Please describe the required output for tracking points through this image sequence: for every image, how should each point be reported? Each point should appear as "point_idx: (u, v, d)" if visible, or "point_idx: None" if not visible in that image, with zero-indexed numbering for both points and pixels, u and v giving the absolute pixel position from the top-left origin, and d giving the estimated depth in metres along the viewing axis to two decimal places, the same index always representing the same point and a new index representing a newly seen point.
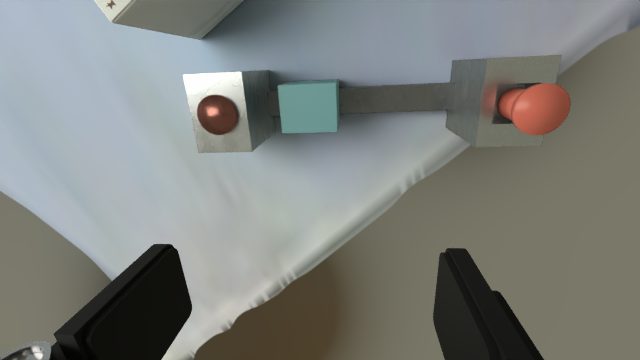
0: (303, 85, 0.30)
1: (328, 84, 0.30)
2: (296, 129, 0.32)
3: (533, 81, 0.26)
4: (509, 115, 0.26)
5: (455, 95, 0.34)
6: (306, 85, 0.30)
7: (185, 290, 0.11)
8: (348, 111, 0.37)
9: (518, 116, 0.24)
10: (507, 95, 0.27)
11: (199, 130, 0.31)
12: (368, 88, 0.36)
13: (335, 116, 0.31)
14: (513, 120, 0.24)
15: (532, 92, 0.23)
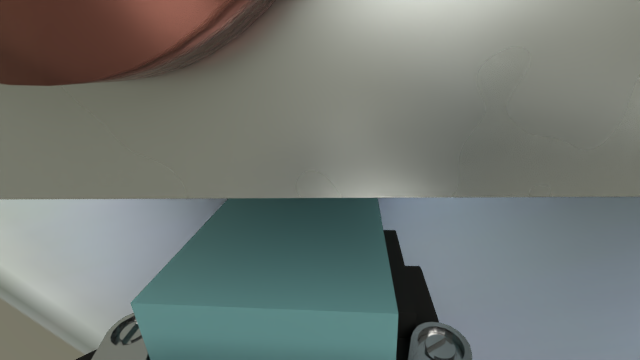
0: None
1: None
2: None
3: None
4: None
5: None
6: None
7: None
8: None
9: None
10: None
11: None
12: None
13: None
14: None
15: None
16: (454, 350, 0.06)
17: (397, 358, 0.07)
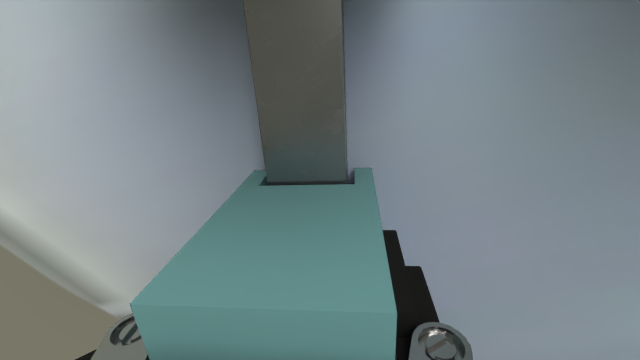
0: None
1: None
2: None
3: None
4: None
5: None
6: None
7: None
8: None
9: None
10: None
11: None
12: None
13: None
14: None
15: None
16: (455, 350, 0.06)
17: (398, 358, 0.07)
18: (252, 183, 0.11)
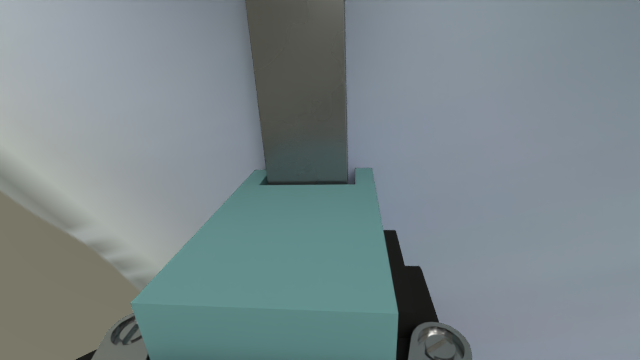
0: None
1: None
2: None
3: None
4: None
5: None
6: None
7: None
8: (261, 75, 0.10)
9: None
10: None
11: None
12: (342, 144, 0.10)
13: None
14: None
15: None
16: (454, 350, 0.06)
17: (397, 358, 0.07)
18: (252, 182, 0.11)
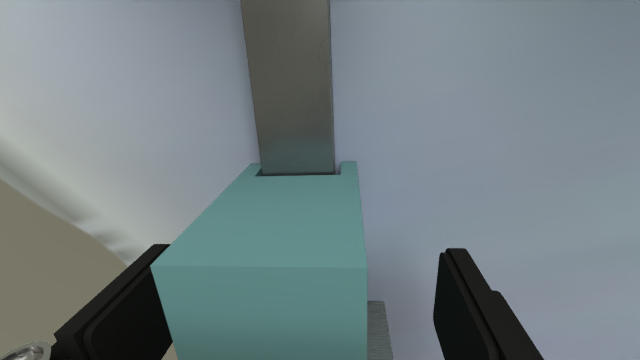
0: (361, 357, 0.07)
1: None
2: (183, 321, 0.07)
3: None
4: None
5: None
6: None
7: None
8: (256, 78, 0.11)
9: None
10: None
11: None
12: (328, 139, 0.12)
13: None
14: None
15: None
16: None
17: None
18: (248, 174, 0.13)
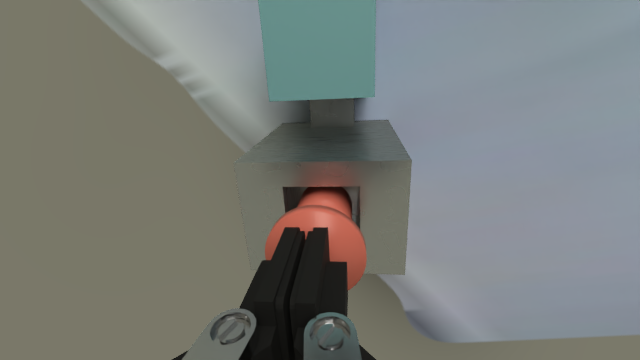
0: (372, 16, 0.13)
1: (371, 80, 0.13)
2: None
3: None
4: (303, 203, 0.14)
5: (334, 128, 0.20)
6: (372, 24, 0.13)
7: None
8: None
9: (300, 220, 0.11)
10: (339, 194, 0.14)
11: None
12: None
13: (302, 97, 0.14)
14: (292, 212, 0.11)
15: (350, 236, 0.11)
16: (342, 333, 0.07)
17: (294, 346, 0.07)
18: None
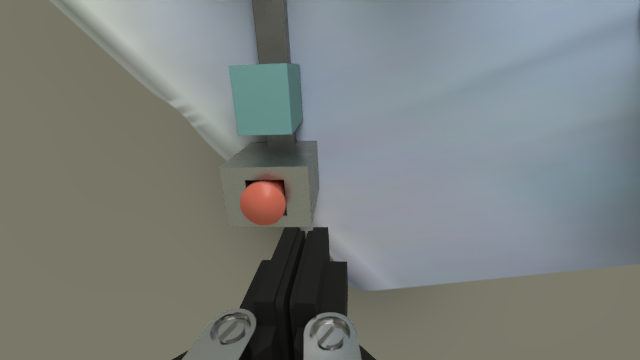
0: (287, 96, 0.26)
1: (289, 126, 0.27)
2: (236, 86, 0.26)
3: (287, 209, 0.28)
4: None
5: (281, 146, 0.33)
6: (287, 100, 0.26)
7: None
8: (257, 24, 0.30)
9: (255, 187, 0.25)
10: None
11: None
12: (285, 49, 0.30)
13: (255, 133, 0.27)
14: (251, 184, 0.26)
15: (276, 194, 0.26)
16: (342, 333, 0.07)
17: (294, 346, 0.07)
18: None
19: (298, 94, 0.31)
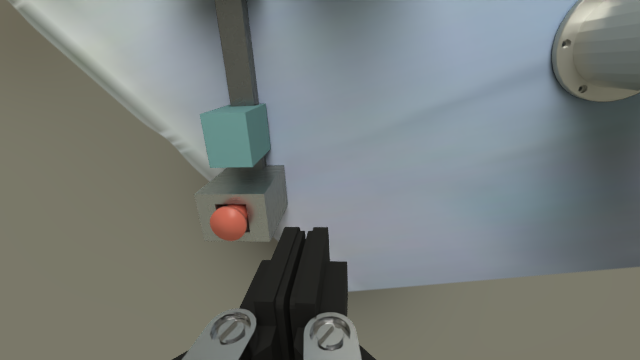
0: (247, 137, 0.32)
1: (250, 160, 0.33)
2: (206, 129, 0.32)
3: (250, 227, 0.34)
4: (228, 205, 0.34)
5: (251, 171, 0.40)
6: (247, 140, 0.32)
7: None
8: (227, 73, 0.36)
9: (221, 211, 0.32)
10: None
11: None
12: (251, 93, 0.36)
13: (223, 166, 0.34)
14: (218, 208, 0.32)
15: (238, 217, 0.32)
16: (342, 332, 0.07)
17: (294, 346, 0.07)
18: (226, 106, 0.37)
19: (263, 129, 0.37)
